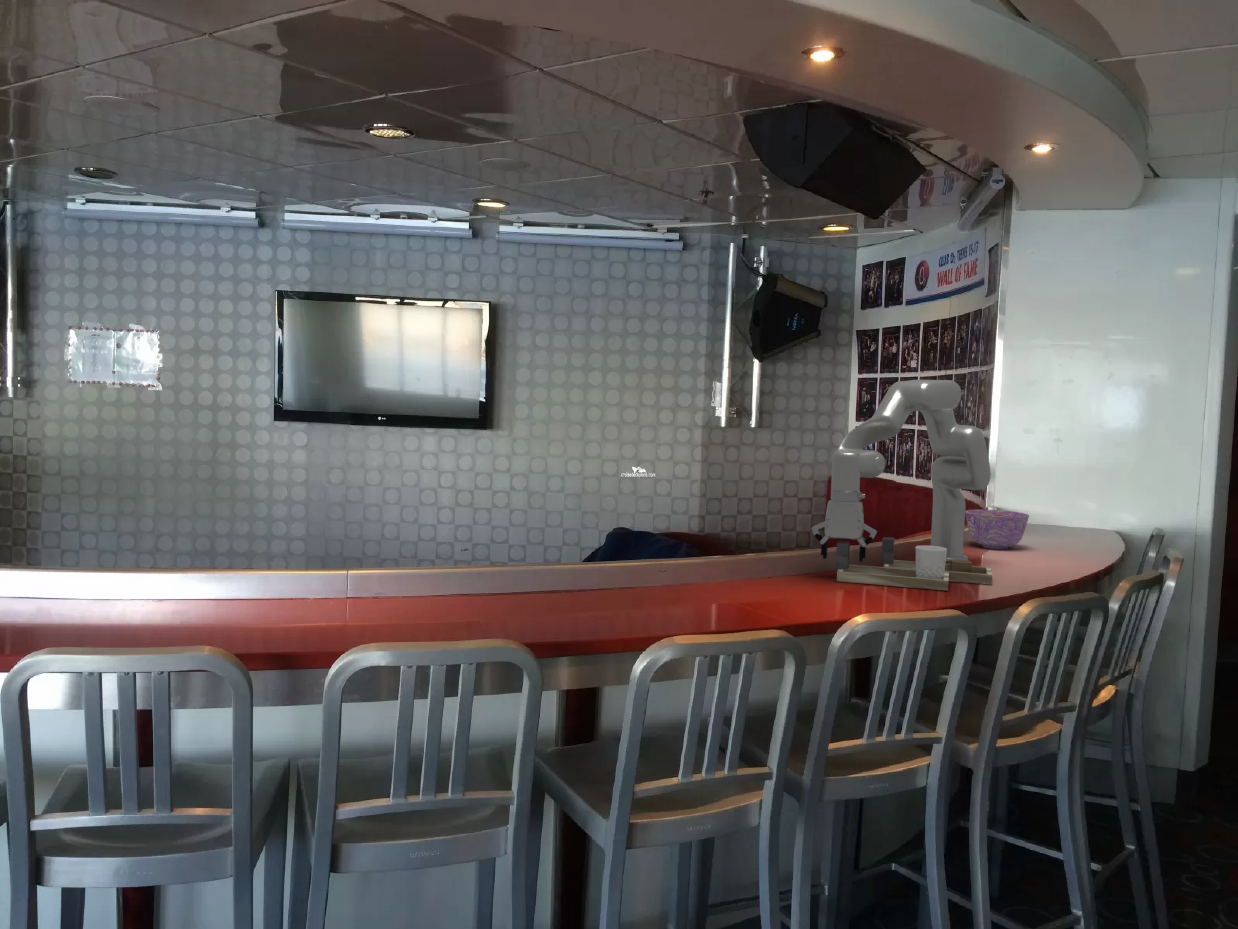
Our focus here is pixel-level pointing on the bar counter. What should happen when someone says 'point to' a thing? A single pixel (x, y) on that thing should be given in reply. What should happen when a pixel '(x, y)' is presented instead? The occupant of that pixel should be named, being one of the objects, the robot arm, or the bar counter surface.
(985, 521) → the bowl of food
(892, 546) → the cube sled
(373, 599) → the bar counter surface
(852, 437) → the robot arm
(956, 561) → the walnut cube
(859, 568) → the glass sled
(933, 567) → the white cup
